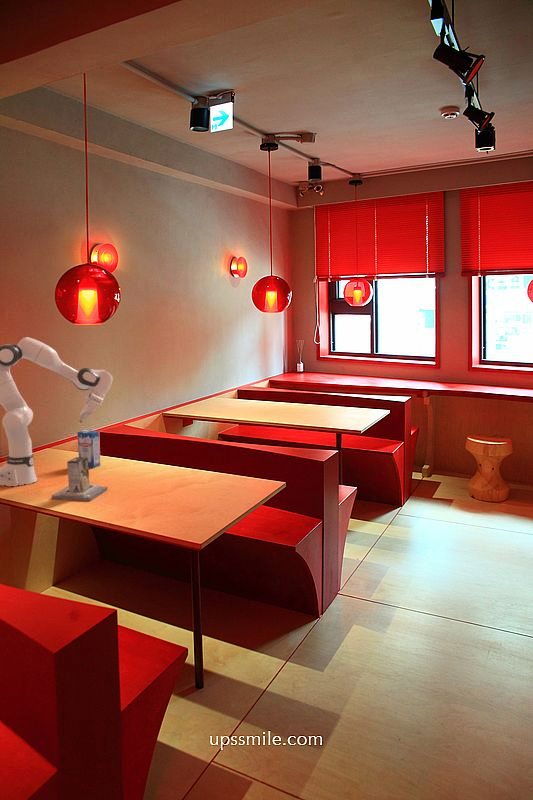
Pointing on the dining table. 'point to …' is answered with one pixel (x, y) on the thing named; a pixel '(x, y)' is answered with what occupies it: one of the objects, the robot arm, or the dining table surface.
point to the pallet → (84, 496)
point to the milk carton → (89, 447)
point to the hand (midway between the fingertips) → (81, 422)
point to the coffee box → (78, 475)
